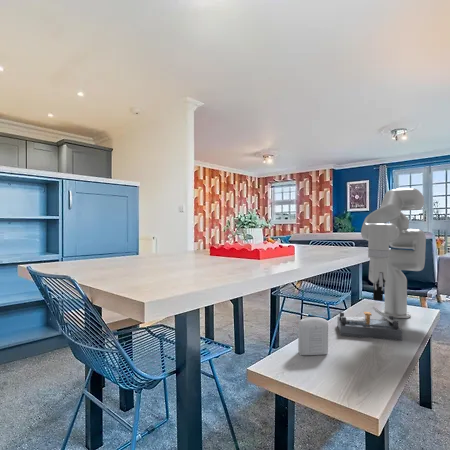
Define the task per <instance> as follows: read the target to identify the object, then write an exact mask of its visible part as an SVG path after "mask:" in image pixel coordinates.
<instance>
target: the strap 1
mask: <svg viewBox="0 0 450 450" xmlns="http://www.w3.org/2000/svg"><path fill="white" fill-rule="evenodd" d="M342 317H346V321H347V322H366V320H365V316H345V315H344V316H341V320H342Z"/></svg>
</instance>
